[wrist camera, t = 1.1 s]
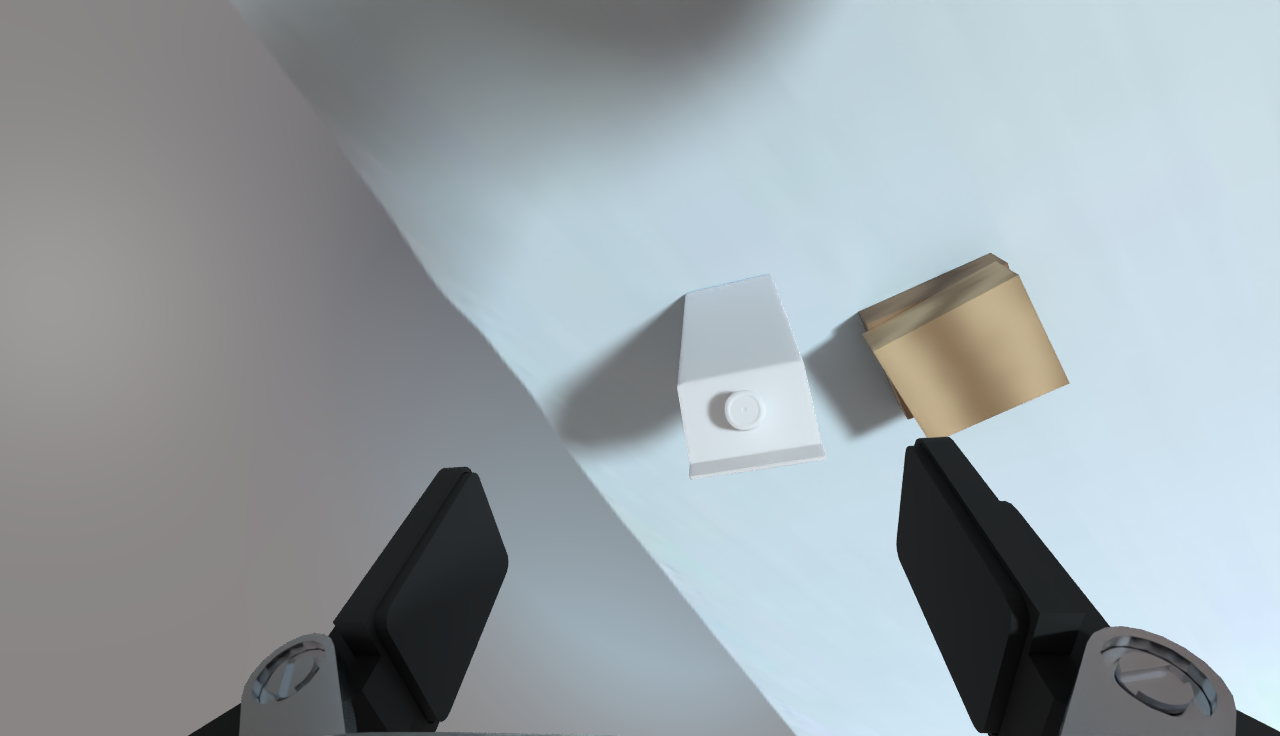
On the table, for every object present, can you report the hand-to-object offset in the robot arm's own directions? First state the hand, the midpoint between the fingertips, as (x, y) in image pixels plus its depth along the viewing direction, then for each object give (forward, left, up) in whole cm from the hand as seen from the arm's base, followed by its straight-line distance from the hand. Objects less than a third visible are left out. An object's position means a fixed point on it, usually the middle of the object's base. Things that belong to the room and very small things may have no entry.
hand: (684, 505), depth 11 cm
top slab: (-12, +19, -29) cm, 37 cm away
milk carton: (+2, +10, -32) cm, 34 cm away
